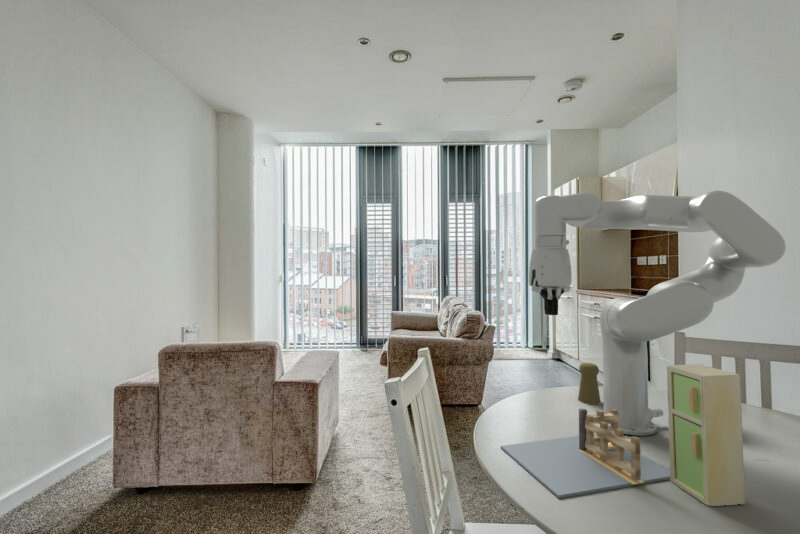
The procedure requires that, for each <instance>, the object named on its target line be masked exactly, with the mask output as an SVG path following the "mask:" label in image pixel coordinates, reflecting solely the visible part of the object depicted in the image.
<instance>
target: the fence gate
mask: <svg viewBox="0 0 800 534" xmlns="http://www.w3.org/2000/svg"><path fill="white" fill-rule="evenodd" d="M585 428H586V441H585V447H586V450H587V451H588V452H594V453H596V454H598V455H599V456H600V459H601V460H603V461H609V462H611V463H613V464H614V465H615V468H616V469H618V470H625V471H626V472H628V473H630V474H631V478H633V479H635V480H641V469H640V454H642V453H641V452H642V451H641V450H642V449H641V446H642V445H641V439H640V438H639V436H636V435H633V436H630V438H629V437H626V436H625V434H624V431H623V430H621V429H615V432H614V431H612V430H610V429H608V423H606V422H600V424H598V423H596V422H594V417H593V416H591V414H587V415H586V420H585ZM594 434H598V435H600V446H599V445H597V444H595V443H594ZM608 440H609V441H611V442H613V443H615V454H613V453H611V452H609V451H608ZM624 449H626V450H628V451H630V452H631V463H629V462H627V461H625V460H624Z"/></svg>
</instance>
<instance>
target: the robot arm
mask: <svg viewBox="0 0 800 534" xmlns="http://www.w3.org/2000/svg"><path fill="white" fill-rule="evenodd" d="M567 225H569V226H570V227H574V228H583V229H585V228H586V229H599V230H600V229H601V230H602V229H604V230H605V229H609V230H610V229H611V230H616V229H617V230H633V231H634V230H642V231H643V230H645V231H646V230H647V231H663V232H664V231H667V232H677V233H678V232H682V233H684V232H685V233H704V232H708V231H712V232H713V233H714V234H716V235H717V236H718V237H717V238H715V240H714V241H713V242H712V243H711V245H710V247H709V251H708V256H707V258H706V261H705V263H704V264H703V265H702V266H701V267H698V268H697V269H694V270H692V271H690V272H687V273H685V274H682V275H680V276H678V277H675V278H672V279H670V280H669V279H668V280H665V281H663V282H660V283H658V284H656V285H654V286H653V287H651V288H650V289H649V290H648V292H647V293H646V294H645V296H642V297H639V298H630V297H621V296H620V297H616V298H612V299H610V300H608V301H607V302H606V303H605V304H604V305H603V307H602V308H601V311H600V315H599V316H600V317H599V321H600V323H599V324H600V330H601V337H602V338H601V339H602V340H601V341H602V358H603V359H602V360H603V361H602V369H603V372H602V374H603V375H602V376H603V378H602V379H603V383H602V384H603V412H604V414H608V413H611V409H616V410H618V415H619V422H618V429H621V430H623V431H624V435H629V436H636V437H639V436H641V437H644V436H651V435H654V434H655V433H656V432H657V425H656V424H655V422H653V420H652V419H654V418H659V417H663V416H664V411H663V409H661V408H657V407H656V408H650V407H649V383H648V382H649V374H648V373H649V372H648V371H649V370H648V369H649V368H648V365H649V363H648V362H649V361H648V360H649V359H648V358H649V357H648V355H649V354H648V348H647V347H648V346H647V342H649V341H654V340H657V339H660V338H663V337H665V336H669V335H671V334H674V333H676V332H680V331H682V330H685V329H689V328H691V327H693V326H696V325H699V324H700V323H702V322H703V321H704V320H705V319H707V318H708V317H709V316H710V314H711V313H712V311H713V309H714V304H715V303H717V302H720V301H722V300H725V299H727V298H729V297H730V296H732V295H734V293H736V291H737V290H738V289H739V288H740V286H741V284H742V281H743V279H744V276H745V273H746V272H745V271H746V268H748V269H749V268H764V267H768V266H771V265H773V264H776V263H777V262H779V261H780V260H781V259H782V258H783V257H784V255H785V252H786V241H785V240H784V237H783V236H782V234H781V233H780V232H779V231H778V230H777V229H776V228H775V227H774V226H773V225H772V224H770V222H768V221H767V220H765V219H764V218H763V217H762V216H761V215H760V214H758V212H757V211H755V210H754V209H753V208H752V207H750V206H749V205H748V203H745V202H744V201H743V200H742V199H740V198H738V197H737V196H736V195H734V194H732V193H731V192H730V193H729V192H727V191H723V190H713V191H710V192H706V193H704V194H701V195H698V196H685V195H684V196H683V195H680V196H679V195H661V194H659V195H658V194H655V195H654V194H643V195H642V194H641V195H636V196H635V195H634V196H632V197H627V198H624V199H619V200H618V199H617V200H607V201H605V200H601V198H600V197H599V196H598V195H597V194H595V193H593V192H585V191H583V192H578V193H577V192H576V193H573V194H571V193H570V194H565V195H554V194H553V195H552V194H551V195H544V196H541V197H539V198H537V199H536V200H535V202H534V237H535V238H534V239H535V240H534V241H535V242H534V245H535V246H534V249H532V250H531V255H530V260H529V268H528V269H529V270H528V271H529V272H528V284H529V286H530V287H531V291H532V292H534V293H538V294H539V295H540V296H541V298H542V299H543V304H544V305H543V306H544V307H543V308H544V309H543V310H544V314H545V315H547V316H558V315H559V300H560V299H561V296H562V295H563V294H564V293H567V292H570V291H571V287H570V286H571V285H572V282H573V281H572V278H573V277H572V275H573V274H572V263H571V257H570V251H569V249H568V248H567V246H569V244H570V241H569V240H568V239H567ZM608 429H610V430H611V423H608Z"/></svg>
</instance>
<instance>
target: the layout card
mask: <svg viewBox="0 0 800 534" xmlns="http://www.w3.org/2000/svg"><path fill="white" fill-rule="evenodd" d="M596 435H597V434H596V433H594V436H596ZM500 449H501V450H502V451H503V452H504V453H506V454H507V455H508V456H509V457H510V458H511V459H512V460H514V461H515V462H516V463H517V464H518V465H519V466H521V467H522V468H523V469H524V470H525V471H526V472H527V473H529V474H530V476H532V477H533V478H534V479H535V480H537V481H538V483H540V484H541V485H542V486H544V488H546V489H547V490H548V491H549V492H550V493H552V494H553V495H554V496H555V497H556V498H557V499H562V498H567V497H568V498H569V497H574V496H580V495H587V494H592V493H597V492H603V491H604V492H605V491H609V490H610V491H611V490H616V489H620V488H625V487H626V488H627V487H631V486H632V487H633V486H638V485H643V484H651V483H656V482H660V481H667V480H671V477H670V467H669V468H668V467H667V466H664V465H663V464H662V463H659V462H657V461H655V460H653V459H651V458H649V457H648V456H646V455H643V454H642V453H640V469H641V480H635V479H633V478H631V474H630V473H628V472H626V471H625V470H618V469H616V468H615V465H614V464H613V463H611V462H609V461H603V460H601V459H600V456H599V455H598V454H596V453H594V452H588V451H583V450H580V449H579V435H576V436H566V437H559V438H551V439H544V440H538V441H537V440H536V441H530V442H529V441H527V442H522V443H521V442H520V443H514V444H505V445H500ZM608 451H609V452H611V453H613V454H615V446H614V445H612V444H611V442H608ZM624 460H625V461H627V462H629V463H631V452H630V451H628V450H626V449H624Z"/></svg>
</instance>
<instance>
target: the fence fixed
mask: <svg viewBox="0 0 800 534" xmlns="http://www.w3.org/2000/svg"><path fill="white" fill-rule="evenodd" d="M586 415H588V410H587V409H586V408H579V409H578V436H579V449H580V450H583V451H587V450H586V447H585V441H586V428H585V420H586ZM590 415H591V414H590ZM591 416H593V417H594V422H596V423H598V424H600V422H606V423H611V430H612V431H614V432H615V429H618V422H619V415H618V410H616V409H611V413H608V414H604V410H596V414H592V415H591ZM608 442H611V441H609V440H608ZM594 443H595V444H597V445H599V446H600V435H598V434H597V435H596V436H594ZM611 444H612V445H614V446H615V443H613V442H611Z"/></svg>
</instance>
